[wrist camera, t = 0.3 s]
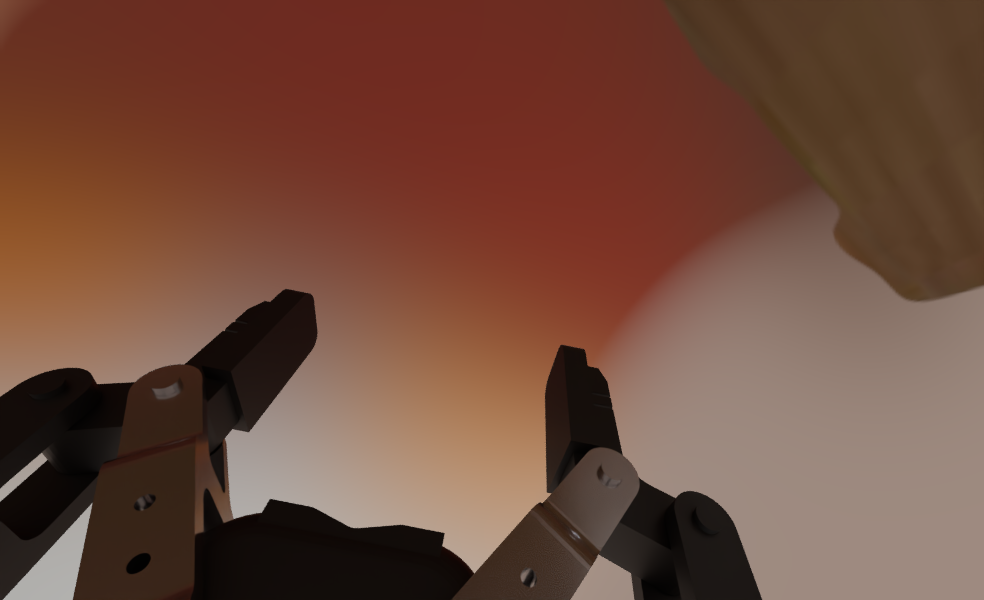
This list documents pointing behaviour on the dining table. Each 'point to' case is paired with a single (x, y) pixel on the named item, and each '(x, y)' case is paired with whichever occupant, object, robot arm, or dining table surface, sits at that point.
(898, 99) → the dining table surface
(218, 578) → the robot arm
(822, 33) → the dining table surface
